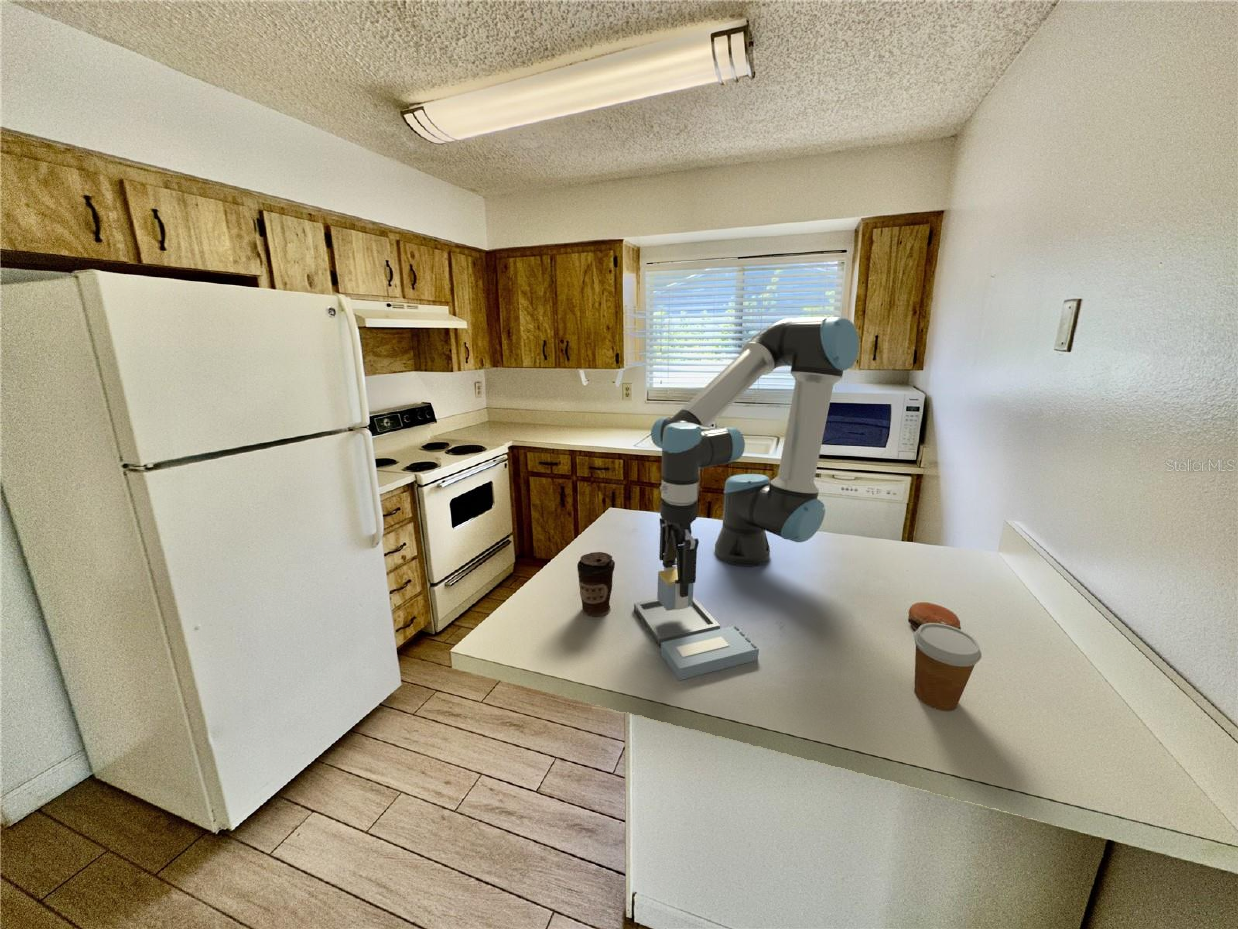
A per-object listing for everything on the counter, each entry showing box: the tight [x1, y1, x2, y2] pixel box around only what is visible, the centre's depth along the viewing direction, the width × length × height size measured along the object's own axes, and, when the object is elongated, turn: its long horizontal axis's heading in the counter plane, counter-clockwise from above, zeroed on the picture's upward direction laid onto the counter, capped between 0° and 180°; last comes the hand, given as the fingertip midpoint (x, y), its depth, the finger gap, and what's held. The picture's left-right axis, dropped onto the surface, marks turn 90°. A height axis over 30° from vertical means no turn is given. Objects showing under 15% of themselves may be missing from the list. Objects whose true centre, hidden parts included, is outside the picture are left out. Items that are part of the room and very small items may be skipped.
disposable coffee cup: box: [913, 623, 983, 712], centre depth 82 cm, size 10×10×12 cm
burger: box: [907, 601, 962, 631], centre depth 102 cm, size 10×9×5 cm
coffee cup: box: [576, 551, 616, 617], centre depth 108 cm, size 9×8×13 cm
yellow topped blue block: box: [656, 569, 695, 611], centre depth 103 cm, size 6×5×7 cm
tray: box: [633, 596, 721, 648], centre depth 105 cm, size 14×14×2 cm
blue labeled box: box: [660, 625, 760, 681], centre depth 94 cm, size 17×8×3 cm, turn 109°
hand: (675, 600), depth 104 cm, fingers closed on yellow topped blue block, 5 cm apart
